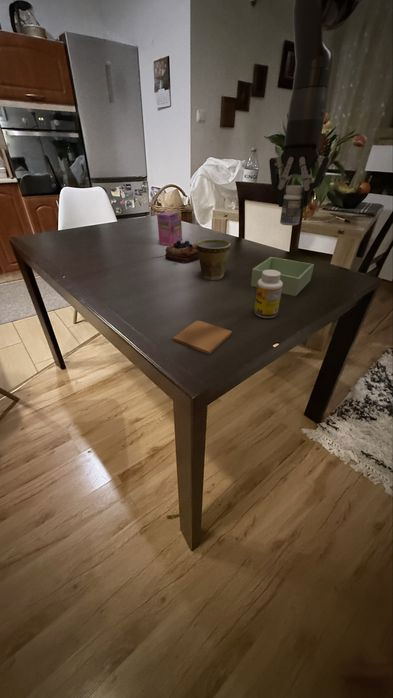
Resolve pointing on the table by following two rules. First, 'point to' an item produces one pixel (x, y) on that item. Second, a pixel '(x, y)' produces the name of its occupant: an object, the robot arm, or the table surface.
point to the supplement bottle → (268, 294)
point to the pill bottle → (292, 205)
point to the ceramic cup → (213, 257)
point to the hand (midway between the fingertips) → (291, 207)
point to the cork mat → (202, 336)
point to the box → (169, 227)
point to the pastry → (182, 252)
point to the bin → (285, 274)
